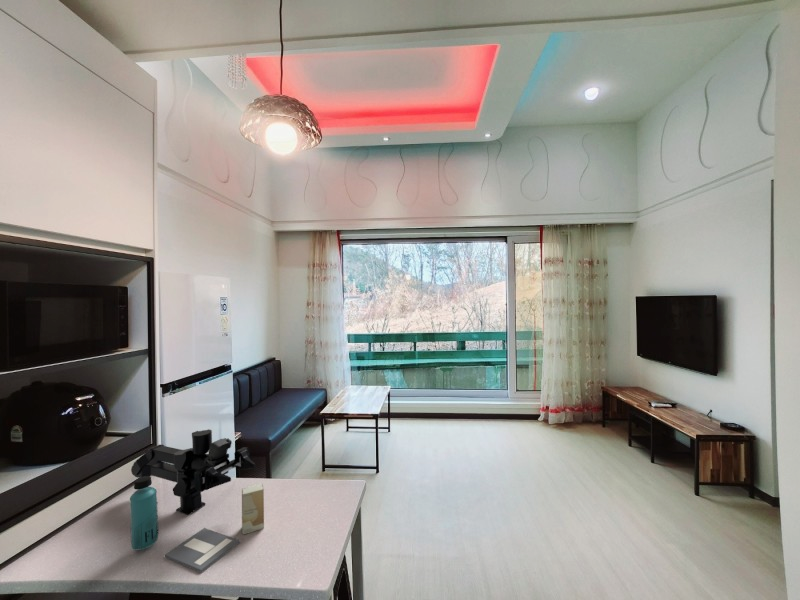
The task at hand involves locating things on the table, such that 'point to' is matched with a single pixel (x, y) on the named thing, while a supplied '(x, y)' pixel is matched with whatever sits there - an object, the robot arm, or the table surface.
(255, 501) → the skincare box
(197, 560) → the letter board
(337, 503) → the table surface
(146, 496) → the beverage bottle
